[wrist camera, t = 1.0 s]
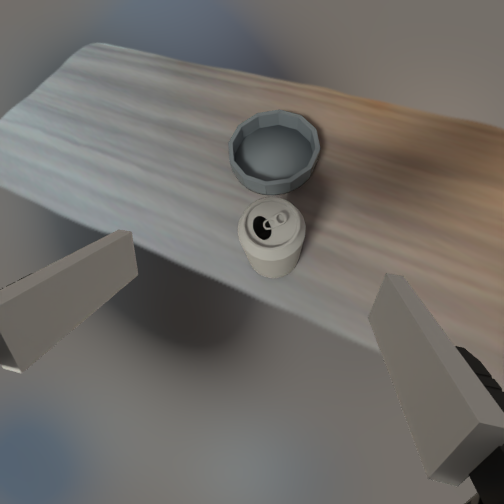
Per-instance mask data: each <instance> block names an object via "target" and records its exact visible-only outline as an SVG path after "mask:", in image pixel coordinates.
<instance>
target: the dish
mask: <svg viewBox="0 0 504 504" xmlns="http://www.w3.org/2000/svg"><path fill="white" fill-rule="evenodd" d="M228 145H229V160H230V165H231V168H232V171H233V173H234V174H235V175H236V177H237V179H238V180H239V181H240V182H241V184H242V185H244V186H245V187H246V188H248V189H249V190H251V191H253V192H256V193H259V194H264V195H280V194H285V193H288V192H291V191H293V190H295V189H297V188H298V187H300V186H301V185H302V184H304V183H305V182H306V181H307V180H308V179H309V178H310V176H311V174H312V172H313V170H314V168H315V165H316V163H317V160H318V157H319V152H320V144H319V140H318V135H317V131H316V128H314V127H313V126H312V125H311V124H310V123H309V122H308V121H307V120H306V119H305V118H304V117H303V116H301V115H299V114H295V113H291V112H287V111H283V110H274V111H268V112H262V113H257V114H255V115H254V116H252V117H250V118H249V119H247V120H246V121H244V122H243V123H241V124H240V125H238V127H237V129H236V130H235V132H234V134H233V136H232V137H231V139H230V141H229V143H228Z"/></svg>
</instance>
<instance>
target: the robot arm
mask: <svg viewBox="0 0 504 504" xmlns="http://www.w3.org/2000/svg"><path fill="white" fill-rule="evenodd" d="M137 275H138V271H137V264H136V258H135V251H134V244H133V238H132V232H130V231H124V230H117V231H115V232H113V233H111V234H109V235H107V236H105V237H103V238H101V239H99V240H97V241H96V242H94V243H92V244H90V245H88V246H86V247H84V248H82V249H80V250H78V251H76V252H74V253H72V254H70V255H68V256H66V257H64V258H62V259H60V260H58V261H56V262H54V263H52V264H50V265H48V266H46V267H44V268H43V269H41V270H39V271H37V272H35V273H32V274H29V275H27V276H26V277H23V278H21V279H20V280H18V281H17V282H14V283H12V284H10V285H8V286H6V287H5V288H2V289H0V364H1V366H2V367H3V368H4V369H7V370H11V371H15V372H19V373H23V372H24V371H25V370H26V369H28V368H29V367H30V366H31V365H32V364H33V363H34V362H36V361H37V360H38V359H39V358H40V357H42V356H43V355H44V354H45V353H46V352H48V351H49V350H50V349H51V348H52V347H53V346H55V345H56V344H57V343H58V342H59V341H61V340H62V339H63V338H64V337H65V336H66V335H68V334H69V333H70V332H71V331H72V330H74V328H76V327H77V326H78V325H79V324H81V323H82V322H83V321H84V320H85V319H86V318H88V317H89V316H90V315H91V314H92V313H94V312H95V311H96V310H97V309H98V308H100V307H101V306H102V305H103V304H104V303H105V302H107V301H108V300H109V299H110V298H111V297H112V296H114V295H115V294H116V293H117V292H118V291H120V290H121V289H122V288H123V287H124V286H126V285H127V284H128V283H129V282H130V281H131V280H133V279H134V278H135V277H136V276H137ZM368 319H369V322H370V324H371V327H372V330H373V332H374V335H375V338H376V340H377V343H378V346H379V349H380V351H381V354H382V357H383V359H384V362H385V365H386V367H387V370H388V373H389V375H390V378H391V381H392V383H393V386H394V389H395V392H396V394H397V397H398V400H399V402H400V405H401V408H402V410H403V413H404V416H405V418H406V421H407V424H408V426H409V429H410V432H411V435H412V437H413V440H414V443H415V445H416V448H417V451H418V453H419V456H420V459H421V462H422V464H423V467H424V470H425V472H426V475H427V478H428V479H431V480H435V481H438V482H442V483H446V484H450V485H454V486H459V485H460V484H461V483H462V482H463V481H464V480H465V479H466V478H467V477H469V476H470V478H471V480H472V482H473V484H474V486H475V488H476V490H477V492H478V493H476V494H475V495H474V496H473V497H472V498H471V499H469V500H468V501H467V502H466V503H465V504H504V392H502V388H501V387H500V386H499V384H498V383H497V382H496V381H495V379H492V376H491V374H490V373H489V372H488V371H487V369H486V368H485V367H484V366H483V364H482V363H481V362H480V361H479V360H478V359H477V358H475V357H474V356H473V355H472V354H471V353H469V352H468V351H467V350H466V349H465V348H462V347H457V346H454V344H453V343H452V342H451V340H450V339H449V338H448V336H447V335H446V334H445V332H444V331H443V329H442V328H441V327H440V325H439V324H438V323H437V321H436V320H435V319H434V317H433V316H432V314H431V313H430V312H429V310H428V309H427V308H426V306H425V305H424V304H423V302H422V301H421V300H420V298H419V297H418V295H417V294H416V293H415V291H414V290H413V289H412V287H411V286H410V285H409V283H408V282H407V281H406V279H405V278H404V276H400V275H394V274H388V273H386V274H385V277H384V279H383V282H382V284H381V287H380V289H379V292H378V294H377V297H376V299H375V302H374V304H373V307H372V309H371V312H370V314H369V317H368Z"/></svg>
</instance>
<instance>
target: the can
mask: <svg viewBox="0 0 504 504" xmlns="http://www.w3.org/2000/svg"><path fill="white" fill-rule="evenodd" d="M305 228H306V225H305V222H304V218H303V216H302V214H301V213H300V211H299V210H298V209H297V208H296V207H295V206H294V205H293V204H291V203H290V202H289V201H287V200H285V199H282V198H279V197H265V198H261V199H259V200H257V201H255V202H253V203H252V204H251V205H250V206H249V207H248V208H247V209H246V211H245V212H244V213H243V215H242V217H241V219H240V220H239V225H238V235H239V240H240V243H241V245H242V247H243V249H244V251H245V253H246V255H247V257H248V260H249V262H250V264H251V265H252V267H253V269H254V270H255V271H256V272H257V273H259V274H260V275H262V276H265V277H267V278H279V277H283V276H285V275H287V274H289V273H290V272H291V271H292V270H293V269H294V268H295V267H296V265H297V262H298V260H299V256H300V253H301V249H302V245H303V241H304V238H305Z"/></svg>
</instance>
